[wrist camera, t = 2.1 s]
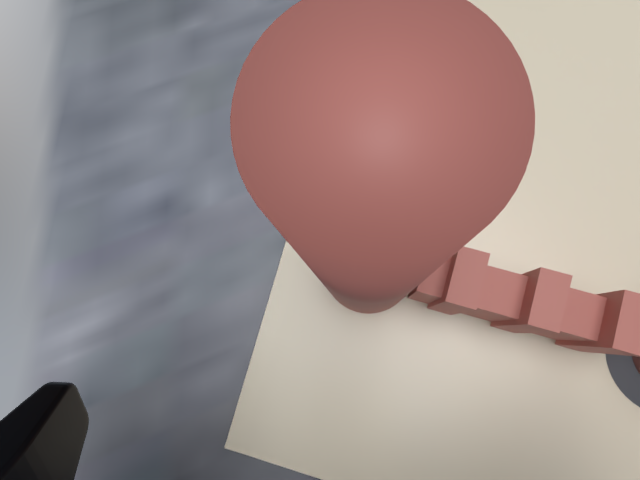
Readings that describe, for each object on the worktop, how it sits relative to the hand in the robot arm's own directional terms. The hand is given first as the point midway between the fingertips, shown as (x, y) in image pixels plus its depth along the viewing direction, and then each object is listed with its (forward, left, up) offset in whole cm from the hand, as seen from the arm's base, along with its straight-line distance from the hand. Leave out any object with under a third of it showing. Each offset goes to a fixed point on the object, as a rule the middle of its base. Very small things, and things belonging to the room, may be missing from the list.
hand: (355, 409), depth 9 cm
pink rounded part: (+3, -3, -10) cm, 11 cm away
